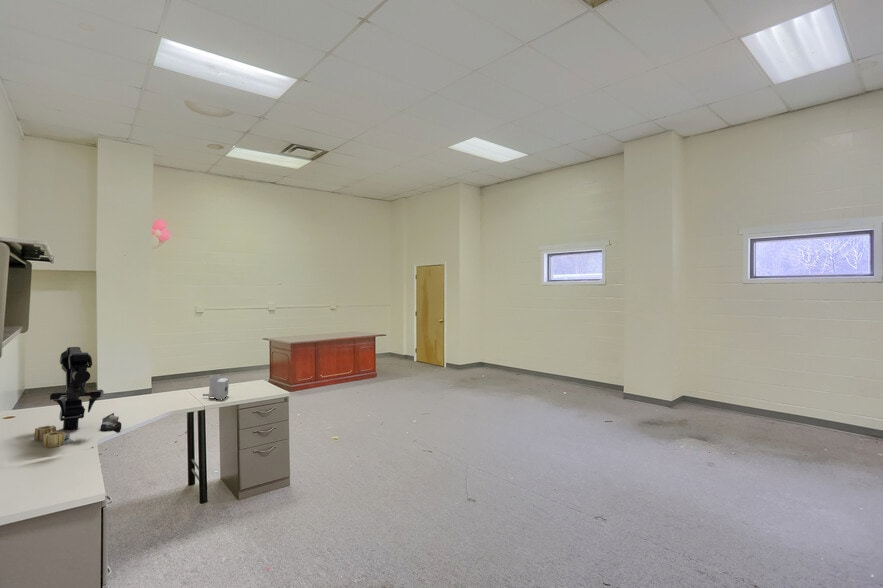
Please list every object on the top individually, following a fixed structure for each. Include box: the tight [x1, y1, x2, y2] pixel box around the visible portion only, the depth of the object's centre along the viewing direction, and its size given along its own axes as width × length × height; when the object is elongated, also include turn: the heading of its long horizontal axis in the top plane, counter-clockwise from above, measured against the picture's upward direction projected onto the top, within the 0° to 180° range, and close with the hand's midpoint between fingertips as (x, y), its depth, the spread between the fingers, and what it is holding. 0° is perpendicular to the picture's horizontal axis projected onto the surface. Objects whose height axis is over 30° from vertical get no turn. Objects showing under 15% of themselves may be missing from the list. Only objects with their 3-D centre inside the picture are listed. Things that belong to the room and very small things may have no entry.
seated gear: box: [34, 425, 57, 442], centre depth 198 cm, size 7×7×5 cm
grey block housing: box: [202, 374, 230, 400], centre depth 294 cm, size 12×14×15 cm
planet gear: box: [42, 430, 66, 449], centre depth 191 cm, size 7×7×5 cm
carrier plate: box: [37, 437, 77, 449], centre depth 196 cm, size 18×10×5 cm, turn 55°
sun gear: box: [64, 431, 71, 441], centre depth 198 cm, size 6×6×2 cm
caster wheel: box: [100, 412, 122, 433], centre depth 218 cm, size 7×11×10 cm
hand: (76, 412), depth 205 cm, fingers open, 9 cm apart
